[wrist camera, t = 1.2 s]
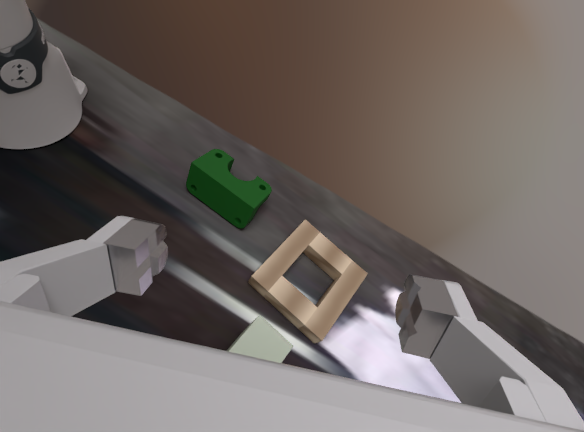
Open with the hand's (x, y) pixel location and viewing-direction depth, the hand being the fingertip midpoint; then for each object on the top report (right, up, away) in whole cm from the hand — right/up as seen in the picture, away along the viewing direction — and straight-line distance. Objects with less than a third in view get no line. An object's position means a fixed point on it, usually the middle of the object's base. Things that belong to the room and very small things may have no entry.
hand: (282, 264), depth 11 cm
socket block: (+2, -8, +37) cm, 38 cm away
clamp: (-10, +5, +40) cm, 42 cm away
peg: (-6, -17, +30) cm, 35 cm away
